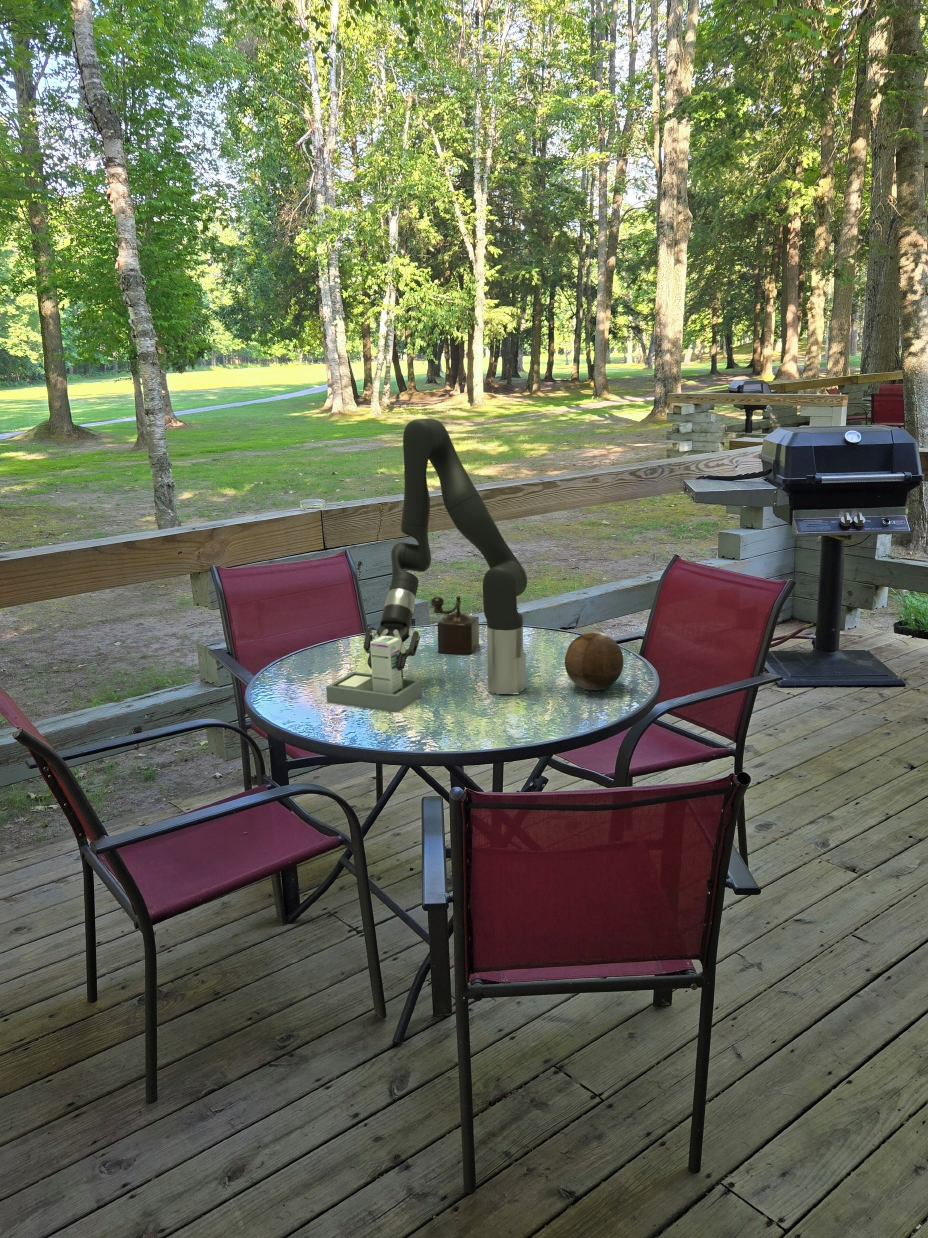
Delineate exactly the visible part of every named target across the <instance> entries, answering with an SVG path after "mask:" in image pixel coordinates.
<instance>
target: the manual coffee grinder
mask: <svg viewBox="0 0 928 1238" xmlns="http://www.w3.org/2000/svg"><path fill="white" fill-rule="evenodd" d="M461 602H462V601H461V596H460V595H457V596H456V601H455V604H454V605H455V606H454V607H453V608H452V609H450V610H444V609H443V605H444V603H445V600H444V599H443V597H440V596H434V597H433V598H431V600H430V604H431V607H433V613H434V614H441V615H443V614H444V615H445V616H443V617H442V618H441V620H439V621H438V622H437V649H438V650H437V653H439V654H445V655H447V654H448V655H459V656H471V655H473V654H474V653H475V651H476V650H477V649H478V648H479V646H480V634H479V633H480V623H479V622H480V618H479V616H472V615H471V616H470V615H467V614H465V613H462V612H461V604H462V603H461ZM477 647H478V648H477ZM476 648H477V649H476ZM475 649H476V650H475ZM470 654H471V655H470Z"/></svg>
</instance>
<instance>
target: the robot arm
mask: <svg viewBox="0 0 928 1238" xmlns="http://www.w3.org/2000/svg"><path fill="white" fill-rule="evenodd" d="M402 440H403V441H402V450H403V464H404V465H403V469H404V470H403V472H404V474H403V475H404V476H403V477H404V490H403V491H404V493H403V506H402V514H401V516H402V517H401V524H400V530H401V532H402V534H404V535H407V536H409V537H410V538H411V537H412V538H413V539H415V540H416V542H417V544H414V543H409V542H408V543H407V542H400V541H399V542H398V543H395V545H394V546H393V547H392V549H391V551H390V552H391V553H390V555H391V556H390V558H391V569H392V570H391V571H392V574H391V581H390V586H389V590H388V593H387V596H386V599H385V602H384V606H383V610H382V615H381V619H380V624H379V627H378V628H377V629H372V628H370V627H368V628H366V631H365V636H364V642H363V646H362V647H363V650H364V651H365V653H366V654H368V658H367V665H368V667H369V668H370V669H371V670H372V665H371V648H370V642H371V641H374V640H375V639H378V638H380V637H381V636H393V637H398V638H401V647H400V651H401V654H399V659H398V663H397V669H398V671H402V669H403V670H404V668H405V667H406V663H407V658H409V657H414V656H415V655H416V654H417V653H416V652H417V649H418V646H419V643H420V640H421V635H420V633H419V632H418V631H417V630H415V631H410V629H411V625H412V620H413V615H414V612H415V605H416V597H417V593H418V588H419V582H420V581H419V578H418V577H417V576H416V575H415V574H413V573H412V572H417V573H418V572H419V573H423V572H426V571H427V570H428V569H429V568H430V566H431V563H432V554H431V548H430V543H429V521H430V513H431V499H430V493H429V486H428V479H427V471H428V470H427V469H428V463H429V462H430V463H431V465H432V467H433V468H434V470H435V472H436V475H437V477H438V480H439V485H440V491H441V497H442V501H443V505H444V507H445V510H446V511H447V514H448V515H449V517H450V519H451V521H452V522H453V524H454V526H455V527H456V529H457V530H458V531H459V533H460V534H461V535H462V536H463V537H464V538H465V539H466V540H467V541H468V542H470V543H471V544H472V545H473V546H474V547H475V548H476V549H477V550H478V552H480V554H481V555H482V557H483V558H484V560H485V561H486V563H487V565H488V567H489V569H488V570H487V571H486V572H485V574H484V576H483V580H482V604H483V606H482V607H483V614H484V618H485V620H486V636H487V637H486V639H487V640H486V645H487V647H486V650H487V651H486V652H487V653H486V654H487V656H486V657H487V658H486V659H487V665H486V666H487V690H489V691H490V692H489V691H488V692H489V693H491V692H492V693H491V694H494V693H496V694H495V695H499V694H511V693H519V692H520V691H521V690H522V689H523V688H525V687H526V688H527V654H526V652H524V617H523V615H522V614H521V613H520V612H519V610H518V605H517V604H518V602H517V601H518V599H517V597H519V596H520V595H522V594H523V593H524V592H525V591H526V589H527V587H528V575H527V573H526V571H525V569H524V567H523V565H522V563H520V561H519V560H518V558H517V557H516V555H515V554H514V552H513V551H512V549H511V548H510V547H509V545H508V544H507V542H506V541H505V539H504V538H503V535H502V533H501V532H500V530H499V528H498V527H497V525H496V523H495V521H494V519H493V517H492V515H491V514H490V512H489V510H488V507H487V506H486V504H485V502H484V500H483V498H482V497H481V495H480V494H479V491H478V489H477V488H476V487H475V484H474V483H473V482H472V479H471V477H470V476H469V474H468V472H467V470H466V469H465V467H464V465H463V463H462V462H461V460H460V458H459V455H458V453H457V451H456V448H455V446H454V443H453V441H452V439H451V437H450V435H449V432H448V429H447V428H446V427H445V425H444V424H443V423H442V422H441V421H439V420H438V419H435V418H416V419H413V420H411V421H409V422H408V423H407V424H406V425H405V427H404V431H403V436H402ZM409 571H412V572H409ZM376 636H378V637H377V638H376ZM408 639H410V643H409V646H408V648H407V649H406V646H405V642H406V641H407V640H408ZM526 688H525V689H526ZM520 693H521V692H520ZM520 693H519V694H520Z"/></svg>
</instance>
